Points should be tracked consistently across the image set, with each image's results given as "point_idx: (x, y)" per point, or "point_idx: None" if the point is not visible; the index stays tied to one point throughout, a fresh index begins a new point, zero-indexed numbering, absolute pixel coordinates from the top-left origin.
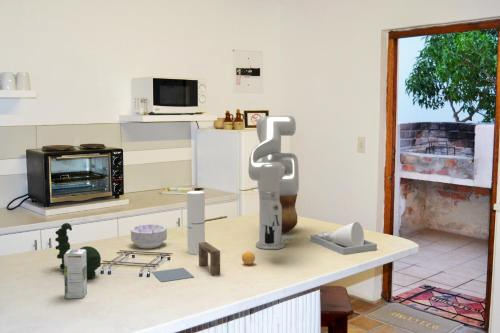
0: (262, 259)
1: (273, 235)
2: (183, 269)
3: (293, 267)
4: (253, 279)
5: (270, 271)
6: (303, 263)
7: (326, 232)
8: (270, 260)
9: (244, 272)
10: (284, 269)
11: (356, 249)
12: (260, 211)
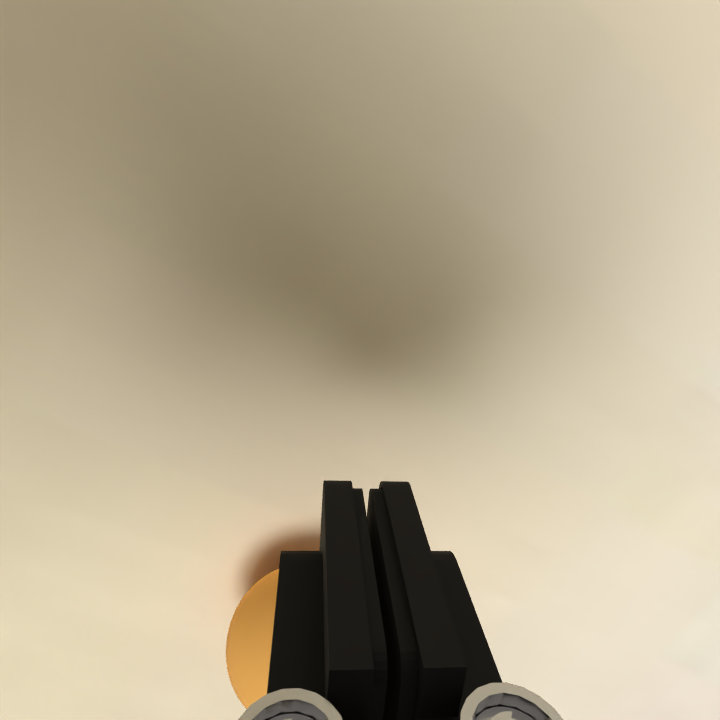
0: (198, 405)
1: (444, 617)
2: None
3: (638, 257)
4: (644, 670)
5: (585, 508)
6: (605, 36)
7: None
8: (277, 345)
9: None
10: (624, 375)
11: None
12: None
